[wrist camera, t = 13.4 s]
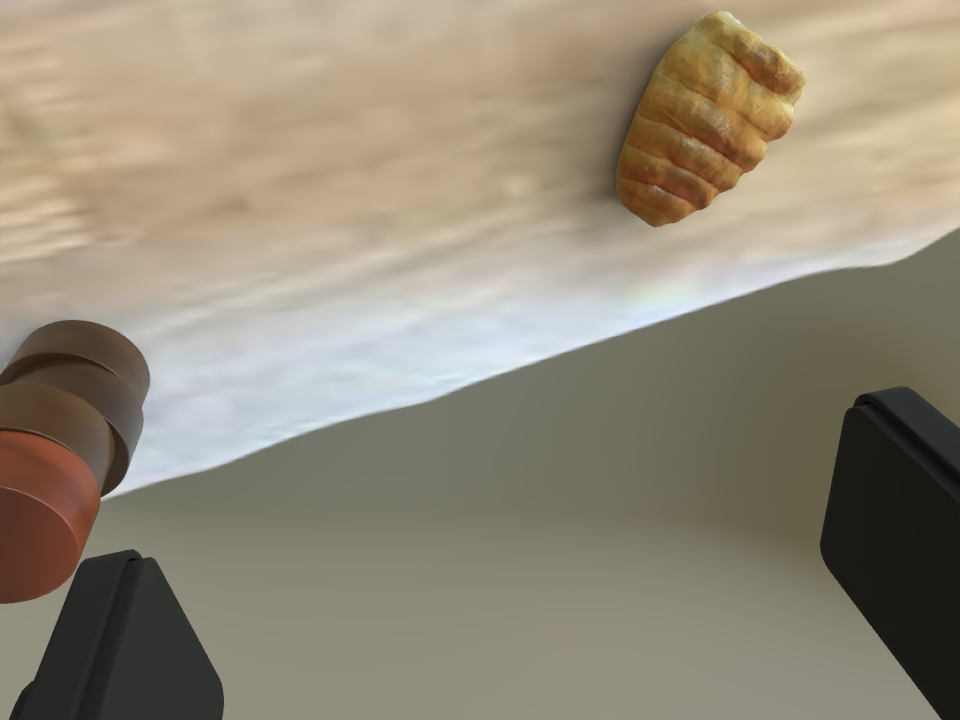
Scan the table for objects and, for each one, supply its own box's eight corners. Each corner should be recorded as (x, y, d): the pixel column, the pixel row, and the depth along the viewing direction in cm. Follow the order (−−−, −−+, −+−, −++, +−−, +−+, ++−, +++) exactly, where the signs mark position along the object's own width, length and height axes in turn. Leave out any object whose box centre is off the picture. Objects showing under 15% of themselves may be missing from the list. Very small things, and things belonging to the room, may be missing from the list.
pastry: (678, 236, 38) (709, 266, 34) (575, 177, 35) (599, 203, 32) (798, 70, 34) (845, 86, 31) (694, -10, 32) (734, -1, 28)
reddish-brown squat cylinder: (-71, 536, 29) (-110, 596, 26) (-73, 417, 26) (-116, 471, 24) (94, 553, 31) (72, 611, 28) (107, 444, 28) (85, 497, 25)
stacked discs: (9, 413, 36) (-76, 544, 29) (14, 300, 33) (-78, 413, 26) (148, 435, 39) (104, 562, 31) (165, 331, 36) (120, 443, 28)
